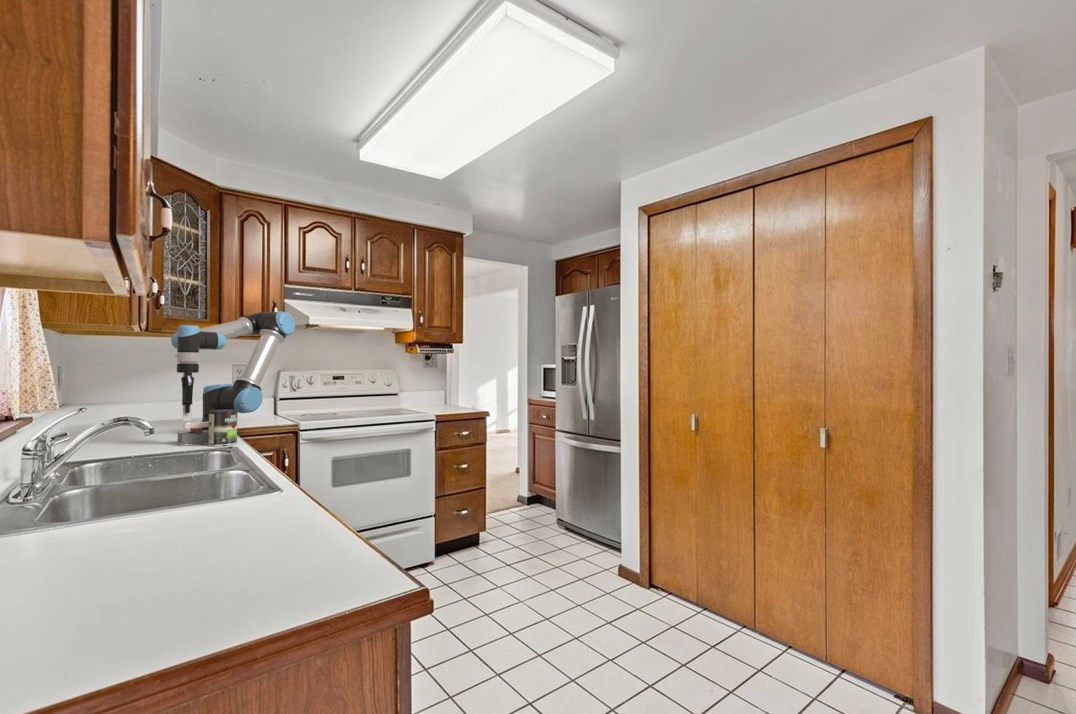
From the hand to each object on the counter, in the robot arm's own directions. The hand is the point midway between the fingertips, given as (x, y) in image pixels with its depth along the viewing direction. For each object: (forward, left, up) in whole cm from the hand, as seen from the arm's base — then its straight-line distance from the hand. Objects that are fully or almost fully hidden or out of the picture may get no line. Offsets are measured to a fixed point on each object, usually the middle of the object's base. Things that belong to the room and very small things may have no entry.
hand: (186, 420), depth 214 cm
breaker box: (-3, +4, -10) cm, 11 cm away
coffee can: (+9, +11, -10) cm, 18 cm away
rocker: (0, +4, -2) cm, 5 cm away
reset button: (-6, +4, -6) cm, 10 cm away
